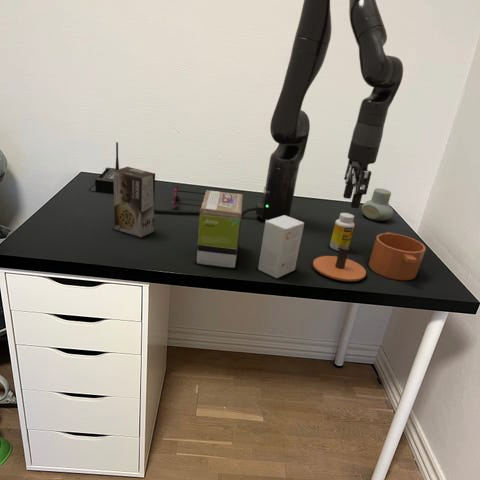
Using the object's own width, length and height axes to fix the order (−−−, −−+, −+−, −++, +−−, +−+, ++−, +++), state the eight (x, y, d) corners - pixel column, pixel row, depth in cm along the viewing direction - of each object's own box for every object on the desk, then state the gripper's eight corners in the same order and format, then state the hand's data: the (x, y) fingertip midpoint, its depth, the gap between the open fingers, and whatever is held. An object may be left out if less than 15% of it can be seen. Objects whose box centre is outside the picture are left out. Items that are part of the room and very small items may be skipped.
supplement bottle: (338, 253, 135) (347, 219, 130) (325, 245, 139) (333, 212, 134) (352, 251, 138) (361, 217, 133) (339, 243, 142) (347, 210, 137)
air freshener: (355, 214, 169) (363, 187, 164) (369, 211, 174) (376, 185, 169) (381, 225, 163) (389, 196, 157) (394, 222, 168) (402, 194, 162)
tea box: (201, 241, 130) (206, 188, 122) (237, 246, 130) (244, 193, 123) (195, 264, 117) (200, 206, 109) (235, 269, 118) (243, 212, 110)
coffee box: (154, 231, 132) (156, 173, 123) (141, 238, 127) (142, 178, 118) (127, 223, 134) (127, 165, 126) (113, 229, 129) (112, 169, 121)
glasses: (173, 197, 159) (174, 182, 157) (222, 202, 161) (223, 188, 159) (171, 211, 148) (171, 195, 145) (223, 216, 150) (225, 201, 147)
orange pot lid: (317, 280, 118) (323, 256, 115) (308, 257, 130) (313, 234, 127) (371, 285, 120) (379, 261, 116) (356, 262, 132) (363, 239, 128)
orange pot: (379, 282, 122) (388, 254, 118) (360, 253, 138) (367, 227, 133) (427, 287, 123) (437, 259, 119) (402, 257, 139) (411, 232, 135)
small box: (275, 261, 125) (284, 214, 118) (295, 270, 122) (305, 222, 115) (256, 269, 119) (264, 220, 112) (276, 279, 116) (286, 228, 109)
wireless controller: (102, 177, 168) (100, 126, 159) (141, 182, 169) (142, 132, 160) (86, 194, 151) (84, 138, 142) (130, 199, 152) (131, 144, 143)
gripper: (345, 135, 129) (331, 193, 137) (359, 146, 117) (343, 209, 125) (371, 138, 130) (356, 196, 138) (388, 149, 118) (370, 212, 126)
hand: (350, 202), depth 132 cm, fingers open, 8 cm apart
